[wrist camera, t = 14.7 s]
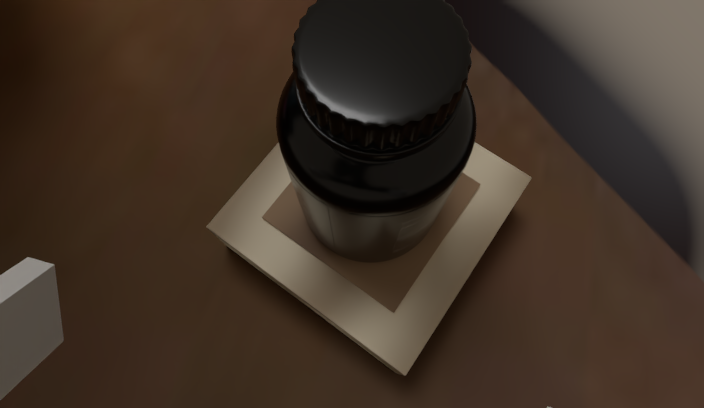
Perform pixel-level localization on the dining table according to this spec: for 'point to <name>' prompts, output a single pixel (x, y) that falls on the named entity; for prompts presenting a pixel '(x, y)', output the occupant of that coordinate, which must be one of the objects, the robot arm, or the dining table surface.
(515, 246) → the dining table surface
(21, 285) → the robot arm
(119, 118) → the dining table surface
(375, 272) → the plate
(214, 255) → the dining table surface
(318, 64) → the supplement bottle
